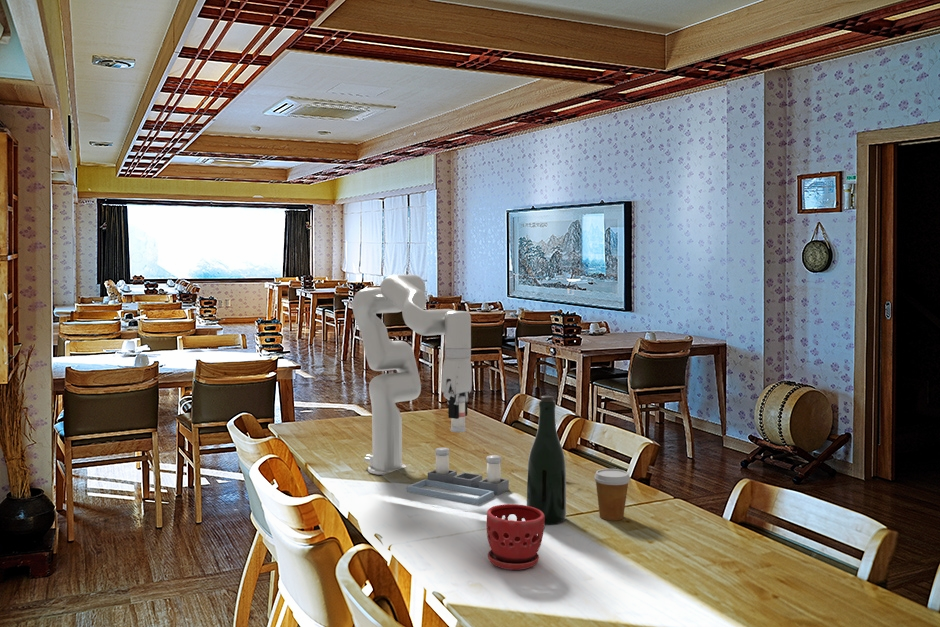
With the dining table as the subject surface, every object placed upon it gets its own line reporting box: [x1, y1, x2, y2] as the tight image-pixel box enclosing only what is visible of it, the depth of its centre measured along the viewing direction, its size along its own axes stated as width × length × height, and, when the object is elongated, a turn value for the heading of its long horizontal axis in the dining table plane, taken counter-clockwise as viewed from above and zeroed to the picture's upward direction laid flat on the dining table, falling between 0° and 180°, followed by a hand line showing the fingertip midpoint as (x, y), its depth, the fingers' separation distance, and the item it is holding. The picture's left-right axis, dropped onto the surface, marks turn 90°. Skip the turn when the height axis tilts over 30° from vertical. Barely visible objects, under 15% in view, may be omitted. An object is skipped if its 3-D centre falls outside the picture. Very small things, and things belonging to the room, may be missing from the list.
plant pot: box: [486, 503, 545, 571], centre depth 185 cm, size 13×13×12 cm
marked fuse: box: [450, 396, 466, 433], centre depth 236 cm, size 4×4×10 cm
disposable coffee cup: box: [593, 468, 631, 521], centre depth 218 cm, size 10×10×12 cm
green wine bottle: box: [526, 395, 567, 525], centre depth 215 cm, size 10×10×33 cm
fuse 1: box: [434, 447, 450, 475], centre depth 247 cm, size 4×4×10 cm
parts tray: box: [406, 478, 495, 506], centre depth 234 cm, size 24×9×3 cm, turn 58°
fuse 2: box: [486, 454, 502, 484], centre depth 237 cm, size 4×4×10 cm
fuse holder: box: [427, 469, 511, 497], centre depth 242 cm, size 25×8×4 cm, turn 58°
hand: (457, 416), depth 236 cm, fingers closed on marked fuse, 4 cm apart
